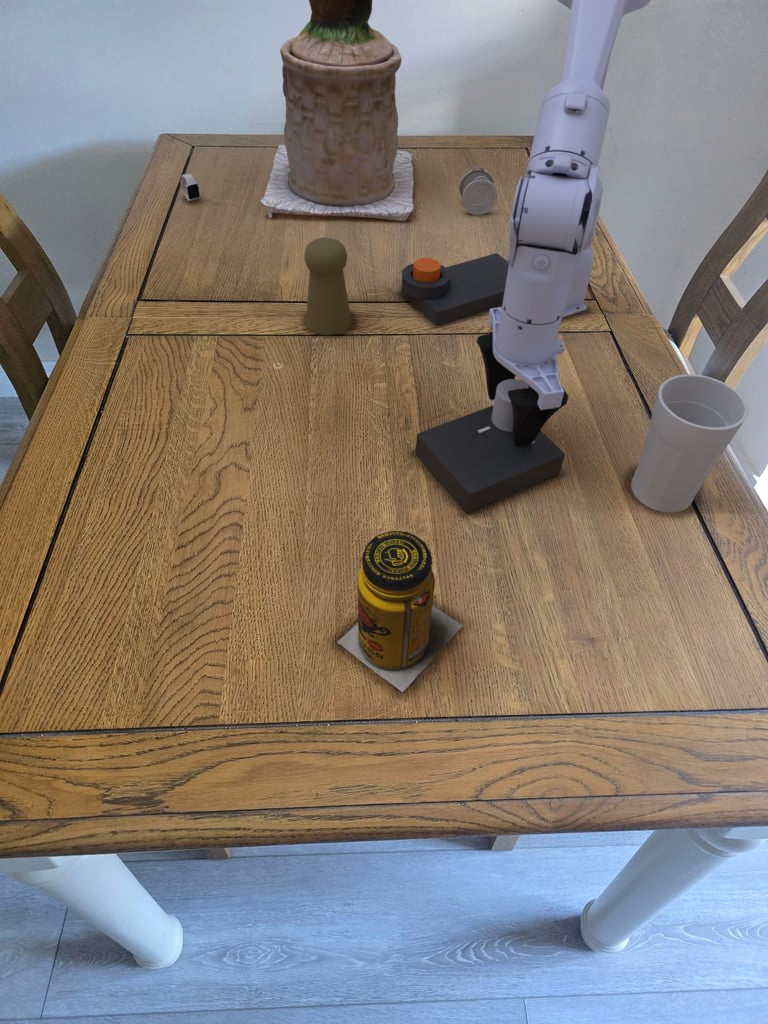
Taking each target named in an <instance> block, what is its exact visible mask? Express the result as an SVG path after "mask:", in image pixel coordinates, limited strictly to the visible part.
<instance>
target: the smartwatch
mask: <svg viewBox="0 0 768 1024" xmlns="http://www.w3.org/2000/svg"><path fill="white" fill-rule="evenodd" d="M179 180H180V187H181V190H182V191H183V193H184V196H185V197H186V199H187V200H188V202H194V201H197V200H198V199H199V198H200V196H201V192H200V185H199V184H198V182H197V181H196V180H195V179H194V177H193V175H192V174H191V173H185V174H182V175H180V178H179Z"/></svg>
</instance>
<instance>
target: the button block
mask: <svg viewBox="0 0 768 1024" xmlns="http://www.w3.org/2000/svg"><path fill="white" fill-rule="evenodd" d="M413 266H414V262H413V263H410V264H408V265H406V266H405V267H404V268H403V269H402V270H401V295H402V296H403V297H404V298H405V299H406V300H407V301H408V302H409V303H410V304H411V305H412V306H414V307H415V308H416V309H417V310H418V311H419V313H421V314H422V315H423V316H424V317H425V318H426V319H428V321H429V322H430V323H432V324H433V325H434V327H437V326H441V325H444V324H447V323H450V322H454V321H456V320H457V321H458V320H460V319H463V318H466V317H469V316H472V315H476V314H479V313H483V312H485V311H488V310H489V311H490V309H491V308H499V307H502V303H503V298H504V292H505V285H506V279H507V273H508V267H509V263H507V259H505V258H504V257H503V256H502V255H500V254H499V253H497V252H495V253H492V254H487V255H485V256H481V257H477V258H474V259H471V260H467V261H464V262H460V263H457V264H453V265H450V266H444V265H442V264H441V269H440V278H439V280H438V281H435V282H432V283H425V282H420V281H417V280H415V279H414V278H413Z"/></svg>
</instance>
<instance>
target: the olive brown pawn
mask: <svg viewBox="0 0 768 1024" xmlns="http://www.w3.org/2000/svg"><path fill="white" fill-rule="evenodd" d="M303 257H304V262H305V265H306V267H307V269H308V270H309V275H308V278H309V279H308V290H307V300H306V301H307V303H306V313H305V314H306V315H305V325H306V328H307V329H308V330H310V331H311V332H312V333H313V332H314V333H316V334H319V335H323V336H325V335H327V336H332V335H338V334H340V333H343V332H345V331H347V330H348V329H349V328H350V327H351V325H352V316H351V311H350V304H349V299H348V297H349V296H348V292H347V291H348V290H347V286H346V279H345V273H344V268H345V267H346V265H347V260H348V253H347V249H346V247H345V245H344V244H343V242H341V241H340V240H338V239H336V238H332V237H319V238H318V237H317V238H316V239H313V240H311V241H309V243H308V244H307V245H306V247H305V250H304V255H303Z"/></svg>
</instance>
